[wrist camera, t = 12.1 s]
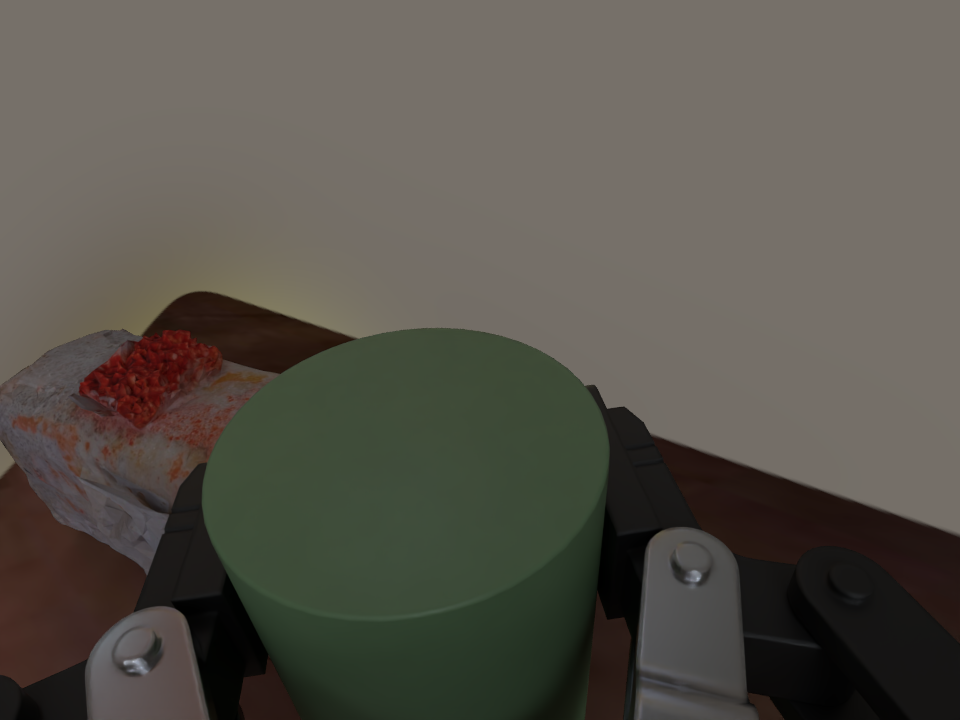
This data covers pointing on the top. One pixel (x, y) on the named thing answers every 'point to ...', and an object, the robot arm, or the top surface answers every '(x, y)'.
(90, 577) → the top surface
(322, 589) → the green tin
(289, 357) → the top surface
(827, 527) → the top surface
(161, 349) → the food item
